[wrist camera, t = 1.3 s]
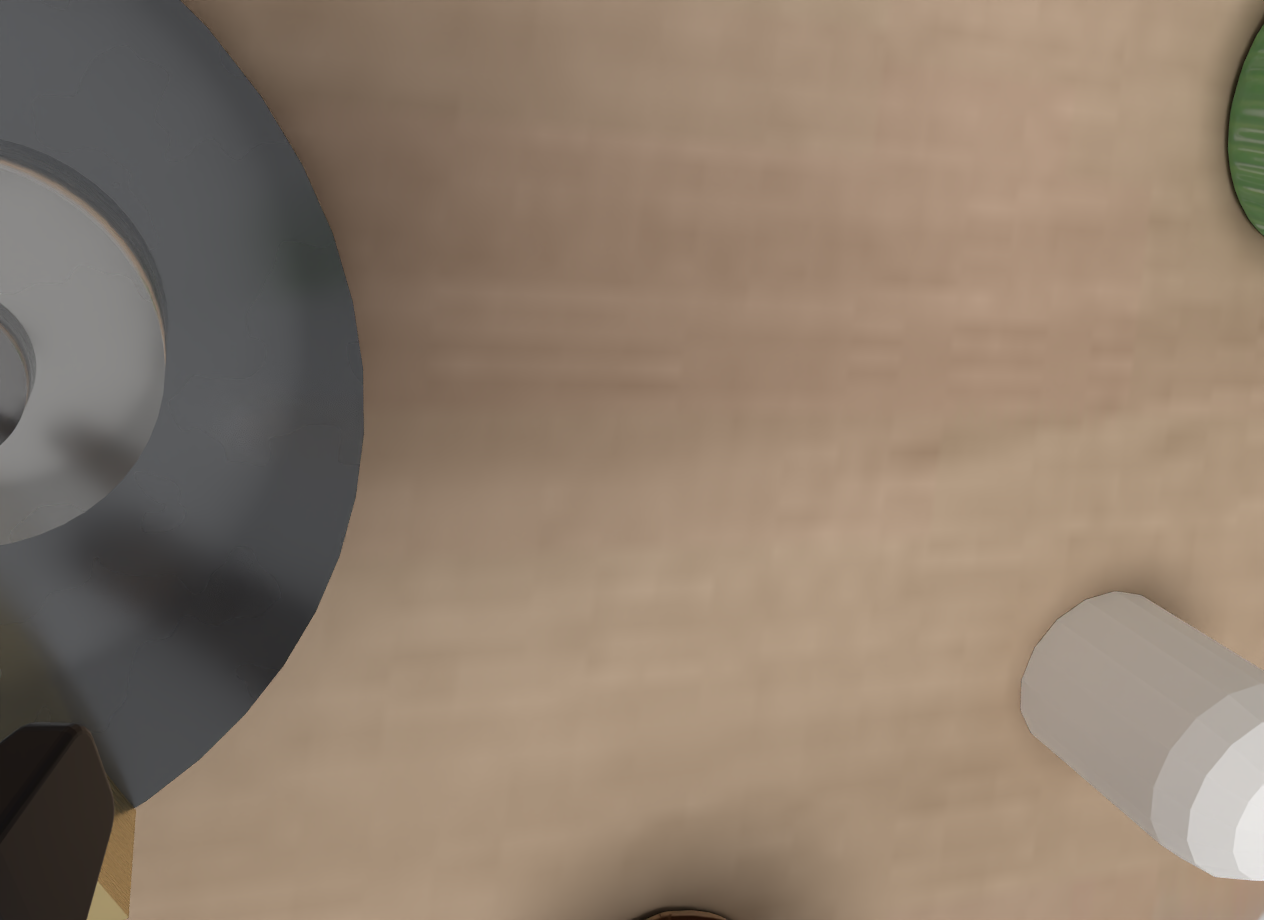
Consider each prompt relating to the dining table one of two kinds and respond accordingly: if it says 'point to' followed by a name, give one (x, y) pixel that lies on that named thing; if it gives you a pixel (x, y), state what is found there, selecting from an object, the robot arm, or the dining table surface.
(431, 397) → the dining table surface
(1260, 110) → the ramekin
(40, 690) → the turntable
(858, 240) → the dining table surface
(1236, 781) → the salt shaker
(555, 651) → the dining table surface
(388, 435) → the dining table surface
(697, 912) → the coffee cup
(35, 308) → the cover
